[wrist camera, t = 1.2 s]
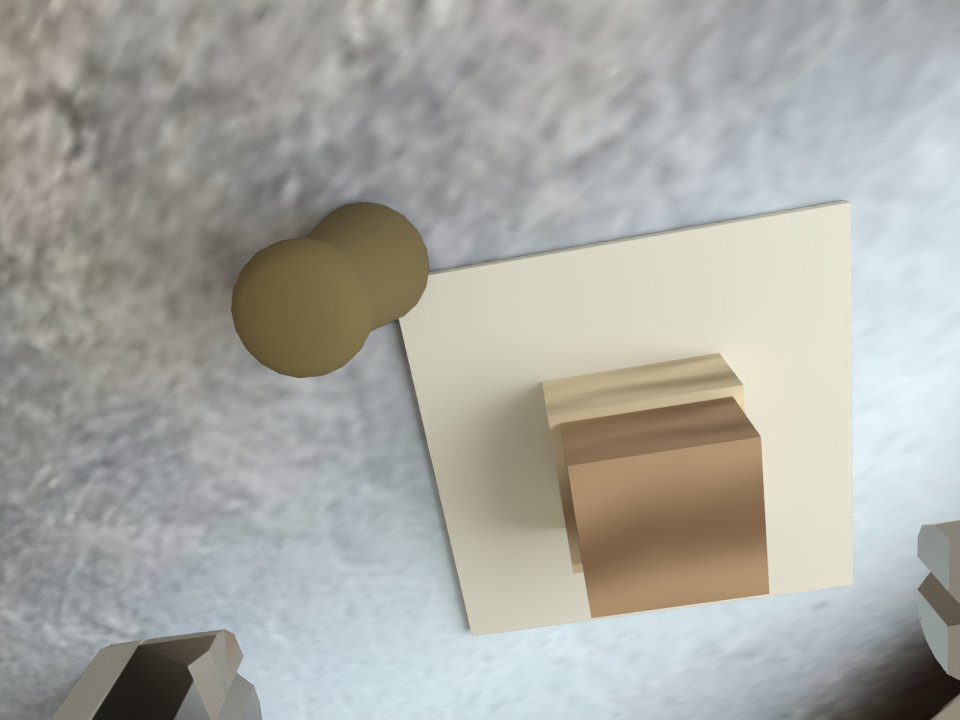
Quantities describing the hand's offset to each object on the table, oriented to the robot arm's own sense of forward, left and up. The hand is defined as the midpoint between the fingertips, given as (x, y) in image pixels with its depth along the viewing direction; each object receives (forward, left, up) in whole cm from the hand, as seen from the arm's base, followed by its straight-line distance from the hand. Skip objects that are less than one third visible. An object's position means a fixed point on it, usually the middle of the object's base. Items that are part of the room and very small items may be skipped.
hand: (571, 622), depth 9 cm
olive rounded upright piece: (+2, -7, -30) cm, 31 cm away
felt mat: (+14, +5, -30) cm, 33 cm away
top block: (+14, +5, -25) cm, 29 cm away
